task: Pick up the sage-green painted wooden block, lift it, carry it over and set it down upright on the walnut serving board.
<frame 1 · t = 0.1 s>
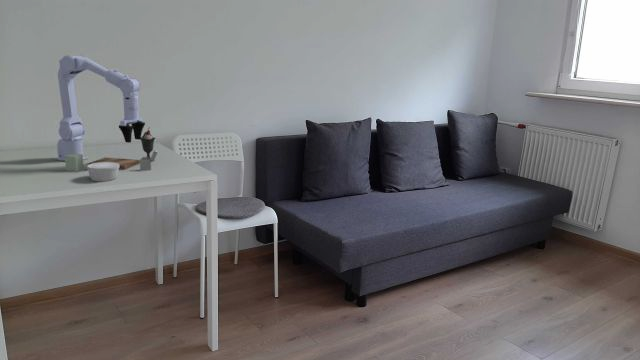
hand: (133, 140, 210), 10 cm above the table, tool pointing down, fingers open, 7 cm apart
board: (114, 164, 210), on the table
lighter: (149, 170, 205), on the table
sundae: (148, 161, 221), on the table
block: (75, 169, 200), on the table
ramekin: (104, 179, 189), on the table
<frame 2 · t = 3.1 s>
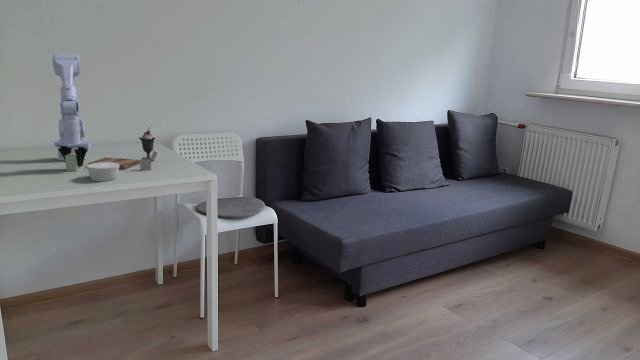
hand: (74, 165, 200), 2 cm above the table, tool pointing down, fingers closed on block, 4 cm apart
block: (75, 169, 200), on the table, touching gripper
everything else where it was.
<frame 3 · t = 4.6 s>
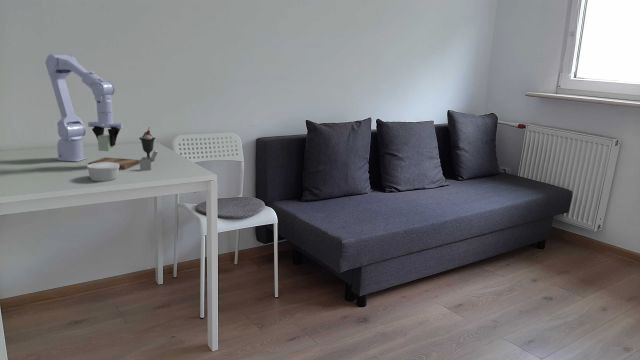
hand: (107, 145, 206), 9 cm above the table, tool pointing down, fingers closed on block, 4 cm apart
block: (106, 149, 207), point 7 cm above the table, touching gripper
everything else where it was.
when the fingers open (4 cm above the table, at t = 6.5 s): block stays where it is, resting on board.
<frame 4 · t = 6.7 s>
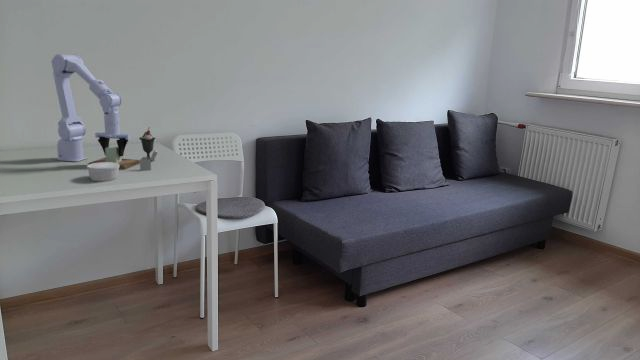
hand: (114, 155, 209), 4 cm above the table, tool pointing down, fingers open, 6 cm apart
block: (114, 161, 210), point 1 cm above the table, touching board
everything else where it was.
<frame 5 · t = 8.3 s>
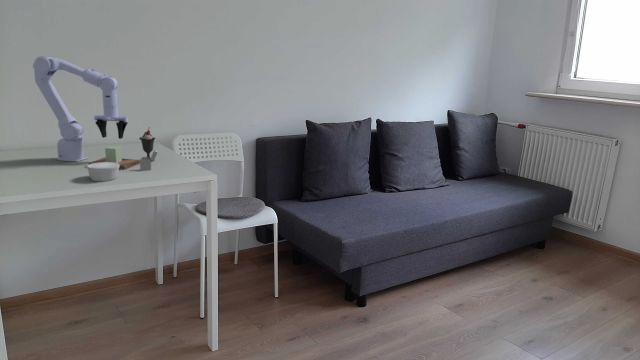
hand: (112, 137, 216), 10 cm above the table, tool pointing down, fingers open, 7 cm apart
nothing on the table moved.
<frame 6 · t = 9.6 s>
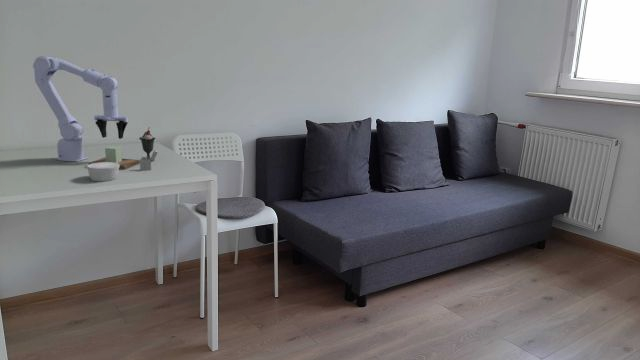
hand: (112, 137, 216), 10 cm above the table, tool pointing down, fingers open, 7 cm apart
nothing on the table moved.
at the end: block inside the target area on the board (0.3 cm from its centre), point 1.5 cm above the board's base; block tilted 0°; the gripper is holding nothing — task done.
